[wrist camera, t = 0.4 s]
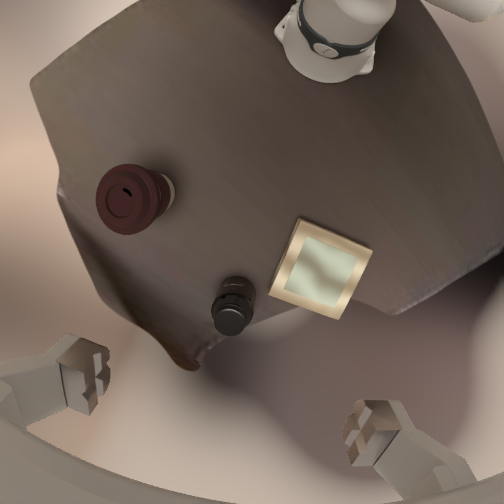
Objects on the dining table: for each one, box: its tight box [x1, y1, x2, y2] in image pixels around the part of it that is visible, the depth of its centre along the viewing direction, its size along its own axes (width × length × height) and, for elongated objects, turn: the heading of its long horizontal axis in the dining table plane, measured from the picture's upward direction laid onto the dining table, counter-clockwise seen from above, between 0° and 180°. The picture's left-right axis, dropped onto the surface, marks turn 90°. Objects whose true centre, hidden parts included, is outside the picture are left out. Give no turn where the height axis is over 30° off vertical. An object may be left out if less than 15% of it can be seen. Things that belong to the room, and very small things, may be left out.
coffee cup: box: [96, 164, 175, 235], centre depth 45 cm, size 10×10×15 cm
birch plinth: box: [268, 218, 373, 320], centre depth 53 cm, size 14×14×3 cm
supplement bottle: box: [211, 277, 255, 336], centre depth 50 cm, size 7×7×12 cm
